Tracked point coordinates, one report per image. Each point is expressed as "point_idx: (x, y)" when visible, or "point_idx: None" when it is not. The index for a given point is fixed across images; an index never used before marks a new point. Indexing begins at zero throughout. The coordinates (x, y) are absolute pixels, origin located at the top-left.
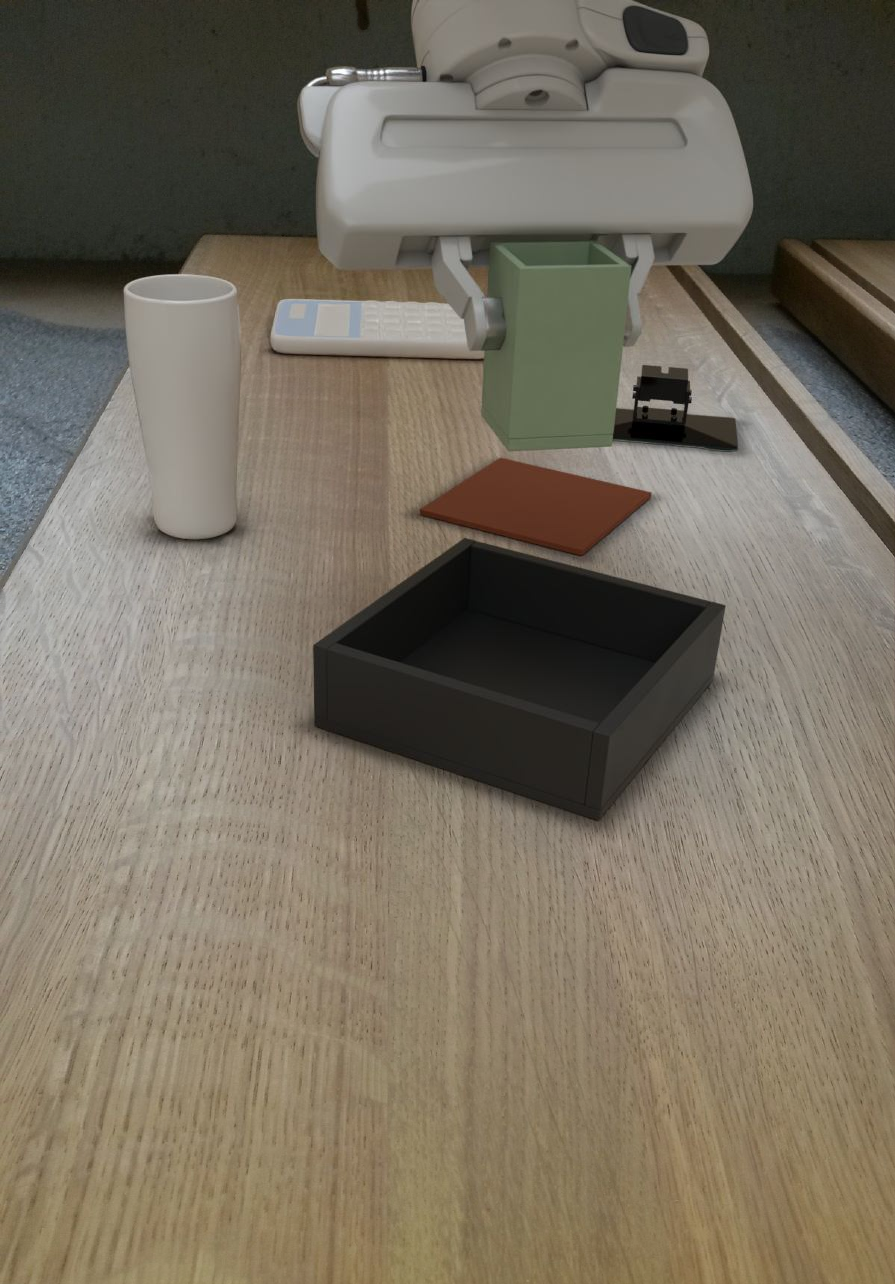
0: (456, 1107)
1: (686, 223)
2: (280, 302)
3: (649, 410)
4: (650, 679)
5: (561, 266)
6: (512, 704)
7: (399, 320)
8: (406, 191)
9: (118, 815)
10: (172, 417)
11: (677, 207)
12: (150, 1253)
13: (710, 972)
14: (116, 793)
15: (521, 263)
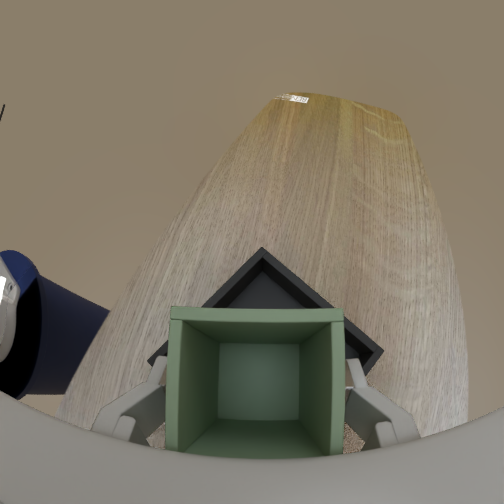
0: (336, 158)
1: (42, 413)
2: None
3: None
4: (221, 291)
5: (278, 313)
6: (299, 279)
7: None
8: (487, 458)
9: (434, 295)
10: None
11: (38, 429)
12: (395, 146)
13: (254, 185)
14: (436, 309)
15: (334, 335)
